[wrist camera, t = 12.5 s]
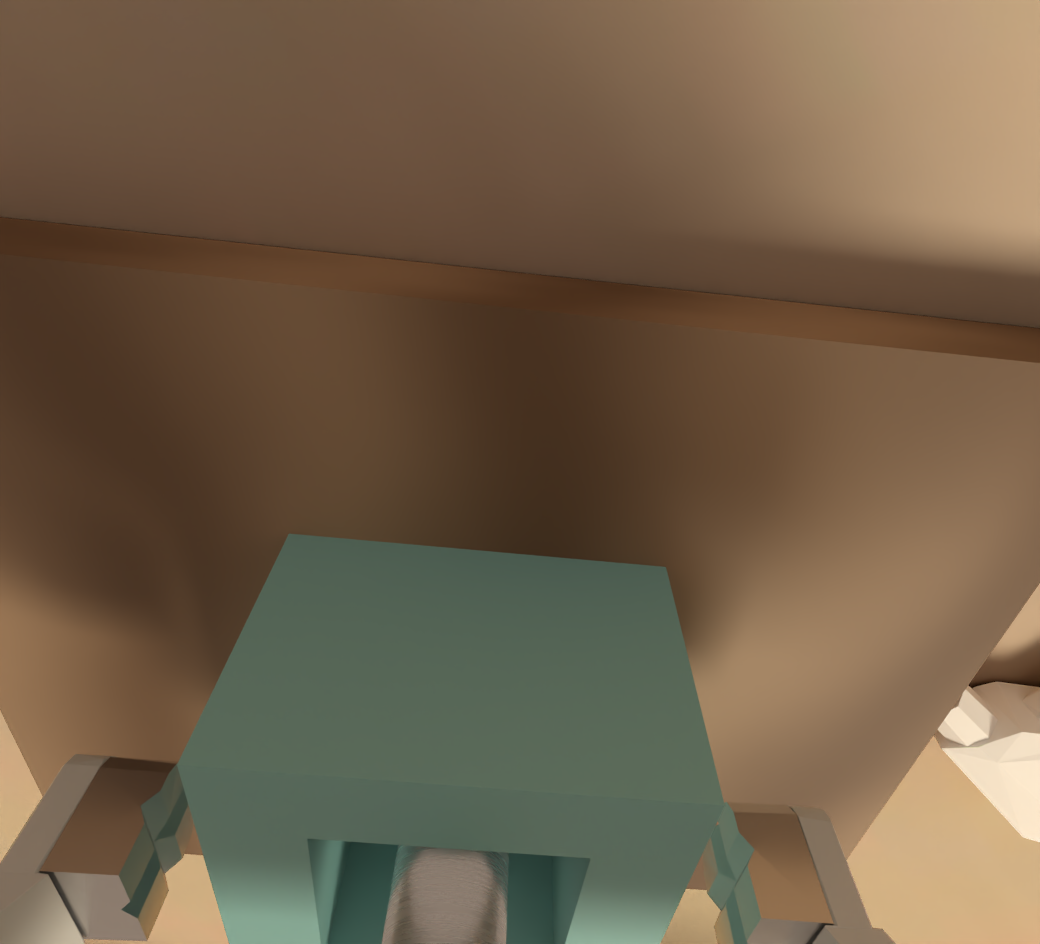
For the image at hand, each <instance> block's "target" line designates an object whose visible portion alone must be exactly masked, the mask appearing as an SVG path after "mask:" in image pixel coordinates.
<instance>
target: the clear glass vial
mask: <svg viewBox="0 0 1040 944" xmlns="http://www.w3.org/2000/svg"><path fill="white" fill-rule="evenodd" d="M508 866H509V853H505V852H491V851H477V850H463V849H448V848H434V847H420V846H406V845H398V848H397V854H396V860H395V866H394V872H393V878H392V884H391V890H390V896H389V902H388V908H387V914H386V920H385V926H384V932H383V938H382V944H506V934H507V900H508Z"/></svg>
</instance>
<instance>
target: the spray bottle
mask: <svg viewBox="0 0 1040 944" xmlns="http://www.w3.org/2000/svg"><path fill="white" fill-rule="evenodd" d="M934 736H935V738H936V739H937V741H938V743H939V745H940V747H941V749H942V750H943V751H944V752H945V753H946V754H947V755H948V756H949V757H950V758H951V759H952V761H953V762H954V763H955V764H956V765H957V766H958V767H959V768H960V769H961V770H962V771H963V773H964V774H965V775H966V776H967V777H968V778H969V779H970V780H971V781H972V782H973V783H974V785H975V786H976V787H977V788H978V789H979V790H980V791H981V792H982V793H983V794H984V795H985V797H986V798H987V799H988V800H989V801H990V802H991V803H992V804H993V805H994V806H995V807H996V808H997V810H998V811H999V812H1000V813H1001V814H1002V815H1003V816H1004V817H1005V818H1006V819H1007V820H1008V822H1009V823H1010V824H1011V825H1012V826H1013V827H1014V828H1015V829H1016V830H1017V831H1018V832H1019V834H1020V835H1021V836H1022V837H1024V838H1027V839H1030V840H1034V841H1037V842H1040V687H1034V686H1027V685H1019V684H1012V683H1004V682H997V681H996V682H992V683H988V684H984V685H980V686H976V687H974V688H970V687H969V686H967V688H966V689H965V691H964V692H963V694H962V695H961V696H960V698H959V699H958V701H957V702H956V704H955V705H954V707H953V708H952V709H951V711H950V712H949V714H948V715H947V717H946V718H945V719H944V721H943V722H942V724H941V725H940V727H939V728H938V729H937V731H936V732H935V734H934Z"/></svg>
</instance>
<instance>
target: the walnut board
mask: <svg viewBox="0 0 1040 944" xmlns="http://www.w3.org/2000/svg"><path fill="white" fill-rule="evenodd" d="M288 534H299V535H310V536H322V537H333V538H344V539H356V540H367V541H378V542H389V543H401V544H412V545H423V546H435V547H446V548H457V549H469V550H480V551H491V552H502V553H514V554H525V555H536V556H548V557H559V558H570V559H581V560H593V561H604V562H615V563H627V564H638V565H649V566H661V567H666V569H667V573H668V577H669V581H670V585H671V589H672V593H673V598H674V602H675V606H676V610H677V614H678V618H679V622H680V626H681V630H682V634H683V638H684V642H685V646H686V650H687V654H688V658H689V662H690V666H691V670H692V675H693V679H694V683H695V687H696V691H697V695H698V699H699V703H700V707H701V711H702V715H703V719H704V723H705V727H706V731H707V735H708V739H709V743H710V747H711V752H712V756H713V760H714V764H715V768H716V772H717V776H718V780H719V784H720V788H721V792H722V796H723V800H724V803H725V802H739V803H758V804H777V805H787V806H801V807H815V808H820V809H822V810H824V811H825V812H826V814H827V815H828V816H829V817H830V819H831V822H832V824H833V827H834V830H835V832H836V835H837V837H838V840H839V843H840V845H841V848H842V850H843V853H844V855H845V858H846V860H847V858H848V857H849V856H850V854H851V853H852V851H853V850H854V848H855V847H856V845H857V844H858V843H859V841H860V840H861V838H862V837H863V835H864V834H865V833H866V831H867V830H868V828H869V827H870V825H871V824H872V823H873V821H874V820H875V818H876V817H877V815H878V814H879V813H880V811H881V810H882V808H883V807H884V805H885V804H886V803H887V801H888V800H889V798H890V797H891V795H892V794H893V792H894V791H895V790H896V788H897V787H898V785H899V784H900V782H901V781H902V780H903V778H904V777H905V775H906V774H907V772H908V771H909V770H910V768H911V767H912V765H913V764H914V762H915V761H916V760H917V758H918V757H919V755H920V754H921V752H922V751H923V750H924V748H925V747H926V745H927V744H928V742H929V741H930V739H931V738H932V737H933V735H934V734H935V732H936V731H937V729H938V728H939V727H940V725H941V724H942V722H943V721H944V719H945V718H946V717H947V715H948V714H949V712H950V711H951V709H952V708H953V707H954V705H955V704H956V702H957V701H958V699H959V698H960V696H961V695H962V694H963V692H964V691H965V689H966V688H967V686H968V685H969V684H970V682H971V681H972V679H973V678H974V676H975V675H976V674H977V672H978V671H979V669H980V668H981V666H982V665H983V664H984V662H985V661H986V659H987V658H988V656H989V655H990V654H991V652H992V651H993V649H994V648H995V646H996V645H997V643H998V642H999V641H1000V639H1001V638H1002V636H1003V635H1004V633H1005V632H1006V631H1007V629H1008V628H1009V626H1010V625H1011V623H1012V622H1013V621H1014V619H1015V618H1016V616H1017V615H1018V613H1019V612H1020V611H1021V609H1022V608H1023V606H1024V605H1025V603H1026V602H1027V601H1028V599H1029V598H1030V596H1031V595H1032V593H1033V592H1034V590H1035V589H1036V588H1037V586H1038V585H1039V583H1040V328H1030V327H1021V326H1012V325H1002V324H993V323H984V322H974V321H965V320H956V319H946V318H937V317H928V316H918V315H909V314H900V313H890V312H881V311H872V310H862V309H853V308H844V307H834V306H825V305H816V304H806V303H797V302H788V301H778V300H769V299H760V298H750V297H741V296H731V295H722V294H713V293H703V292H694V291H685V290H675V289H666V288H657V287H647V286H638V285H629V284H619V283H610V282H601V281H591V280H582V279H573V278H563V277H554V276H545V275H535V274H526V273H517V272H507V271H498V270H489V269H479V268H470V267H461V266H451V265H442V264H433V263H423V262H414V261H405V260H395V259H386V258H376V257H367V256H358V255H348V254H339V253H330V252H320V251H311V250H302V249H292V248H283V247H274V246H264V245H255V244H246V243H236V242H227V241H218V240H208V239H199V238H190V237H180V236H171V235H162V234H152V233H143V232H134V231H124V230H115V229H106V228H96V227H87V226H78V225H68V224H59V223H50V222H40V221H31V220H21V219H12V218H3V217H0V710H1V712H2V714H3V717H4V719H5V721H6V723H7V725H8V727H9V729H10V731H11V733H12V735H13V737H14V739H15V741H16V743H17V745H18V747H19V749H20V751H21V753H22V755H23V757H24V759H25V761H26V763H27V765H28V767H29V769H30V771H31V774H32V776H33V778H34V780H35V782H36V784H37V786H38V788H39V790H40V792H41V794H42V796H44V794H45V793H46V791H47V789H48V788H49V786H50V785H51V783H52V782H53V780H54V779H55V777H56V775H57V774H58V772H59V771H60V769H61V768H62V766H63V765H64V764H65V763H66V762H67V761H68V760H69V759H71V758H72V757H73V756H74V755H75V754H85V755H102V756H115V757H122V758H136V759H150V760H163V761H177V762H179V760H180V757H181V755H182V753H183V751H184V749H185V747H186V745H187V743H188V741H189V739H190V737H191V735H192V733H193V731H194V729H195V727H196V724H197V722H198V720H199V718H200V716H201V714H202V712H203V710H204V708H205V706H206V704H207V702H208V700H209V698H210V696H211V693H212V691H213V689H214V687H215V685H216V683H217V681H218V679H219V677H220V675H221V673H222V671H223V669H224V667H225V665H226V662H227V660H228V658H229V656H230V654H231V652H232V650H233V648H234V646H235V644H236V642H237V640H238V638H239V636H240V634H241V632H242V629H243V627H244V625H245V623H246V621H247V619H248V617H249V615H250V613H251V611H252V609H253V607H254V605H255V603H256V601H257V598H258V596H259V594H260V592H261V590H262V588H263V586H264V584H265V582H266V580H267V578H268V576H269V574H270V572H271V570H272V568H273V565H274V563H275V561H276V559H277V557H278V555H279V553H280V551H281V549H282V547H283V545H284V543H285V541H286V539H287V537H288ZM718 824H719V823H718V821H717V823H716V825H718ZM716 825H715V826H716ZM184 854H195V855H203V853H202V849H201V846H200V842H199V839H198V835H197V832H196V829H195V825H194V826H193V830H192V834H191V838H190V840H189V843H188V845H187V848H186V850H185V853H184ZM686 889H699V890H707V888H706V883H705V878H704V869H703V853H702V855H701V857H700V860H699V862H698V864H697V866H696V868H695V870H694V872H693V875H692V877H691V879H690V881H689V883H688V885H687V887H686Z"/></svg>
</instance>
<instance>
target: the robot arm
mask: <svg viewBox="0 0 1040 944" xmlns="http://www.w3.org/2000/svg"><path fill="white" fill-rule="evenodd" d="M177 764H178V762H177V761H163V760H150V759H136V758H122V757H115V756H102V755H85V754H75V755H74V756H73V757H72V758H71V759H69V760H68V761H67V762H66V763H65V764H64V765H63V766H62V768H61V769H60V771H59V772H58V774H57V775H56V777H55V779H54V780H53V782H52V783H51V785H50V786H49V788H48V789H47V791H46V793H45V794H44V796H43V797H42V799H41V800H40V802H39V803H38V805H37V807H36V808H35V810H34V811H33V813H32V814H31V816H30V817H29V819H28V821H27V822H26V824H25V825H24V827H23V828H22V830H21V831H20V833H19V835H18V836H17V838H16V839H15V841H14V842H13V844H12V845H11V847H10V849H9V850H8V852H7V853H6V855H5V856H4V858H3V860H2V861H1V863H0V944H85V941H84V939H103V940H133V941H147V940H148V938H149V935H150V933H151V931H152V928H153V926H154V924H155V921H156V919H157V917H158V914H159V912H160V910H161V907H162V905H163V903H164V900H165V898H166V896H167V893H168V891H169V890H168V885H167V881H166V877H165V873H166V872H167V871H168V870H169V869H170V868H172V867H173V866H174V865H175V864H176V863H177V862H179V861H180V860H181V859H182V858H183V855H184V853H185V850H186V848H187V845H188V843H189V840H190V838H191V834H192V830H193V826H194V822H193V818H192V815H191V812H190V808H189V805H188V801H187V798H186V794H185V791H184V788H183V784H182V781H181V777H180V774H179V771H178V767H177ZM724 804H725V806H724V808H723V811H722V813H721V815H720V817H719V819H718V823H719V824H718V825H716V826H715V828H714V830H713V832H712V834H711V836H710V838H709V840H708V843H707V845H706V847H705V849H704V851H703V869H704V878H705V883H706V888H707V894H708V895H709V896H710V898H711V899H712V900H713V901H714V903H715V904H716V905H717V906H718V908H719V909H720V910H721V912H720V914H719V916H718V919H717V921H716V923H715V925H714V928H715V933H716V938H717V943H718V944H896V943H895V942H894V941H893V940H892V939H891V938H890V937H889V936H888V934H887V933H886V932H885V931H884V930H883V929H878V928H872V925H871V923H870V920H869V918H868V915H867V913H866V910H865V907H864V905H863V902H862V900H861V897H860V894H859V892H858V889H857V887H856V884H855V881H854V879H853V876H852V874H851V871H850V868H849V866H848V863H847V861H846V858H845V855H844V853H843V850H842V848H841V845H840V843H839V840H838V837H837V835H836V832H835V830H834V827H833V824H832V822H831V819H830V817H829V816H828V815H827V814H826V812H825V811H824V810H822V809H820V808H815V807H801V806H787V805H777V804H758V803H739V802H725V803H724Z"/></svg>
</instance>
